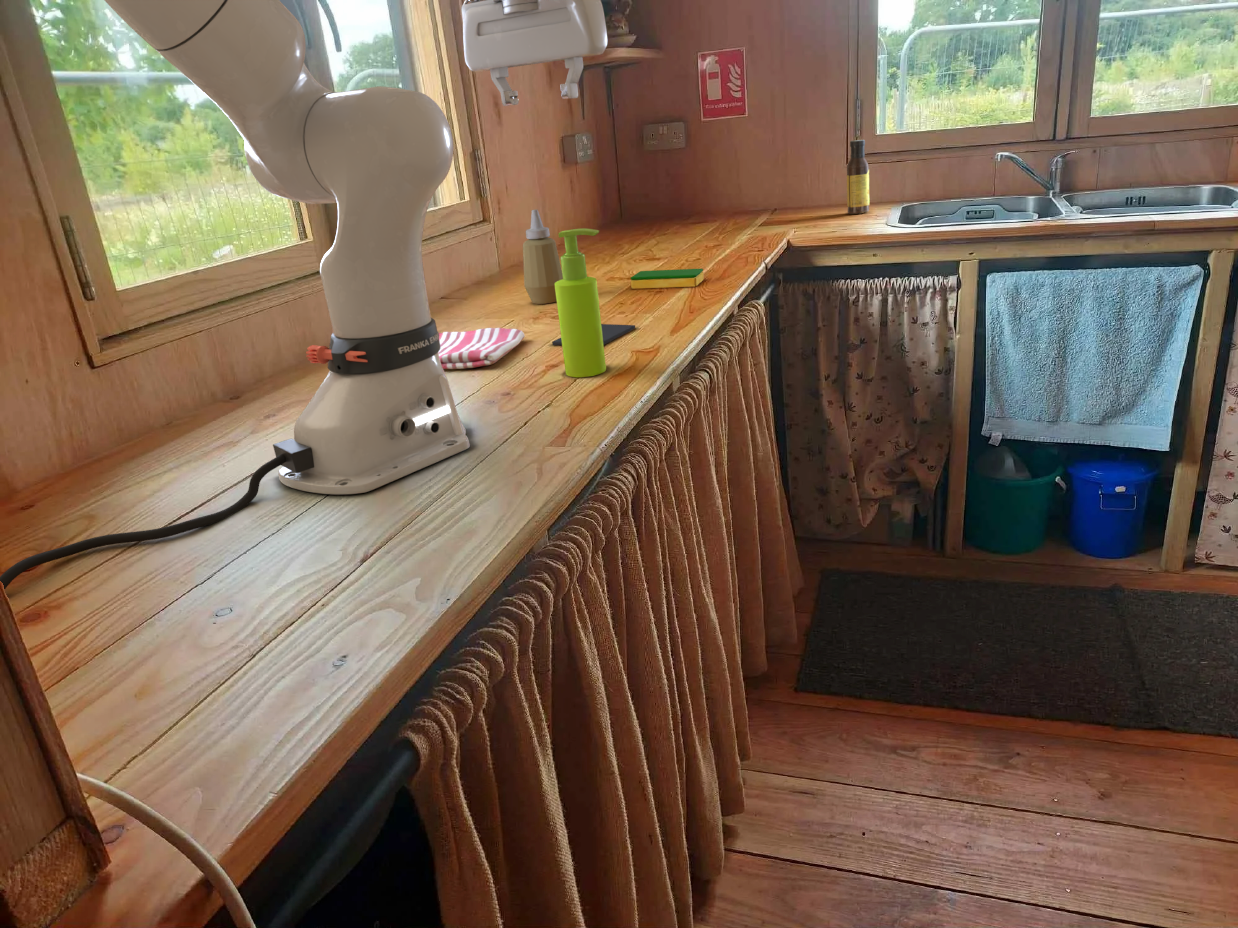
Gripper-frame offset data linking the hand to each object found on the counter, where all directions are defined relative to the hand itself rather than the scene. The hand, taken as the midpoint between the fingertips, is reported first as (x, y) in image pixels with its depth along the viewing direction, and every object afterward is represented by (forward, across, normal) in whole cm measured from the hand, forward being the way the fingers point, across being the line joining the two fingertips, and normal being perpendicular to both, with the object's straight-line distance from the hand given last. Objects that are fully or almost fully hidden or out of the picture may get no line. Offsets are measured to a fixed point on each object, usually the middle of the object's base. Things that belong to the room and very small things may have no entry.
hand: (539, 102), depth 114 cm
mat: (+36, -7, +18) cm, 41 cm away
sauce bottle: (+37, -1, +158) cm, 162 cm away
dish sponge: (+37, -14, +59) cm, 71 cm away
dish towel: (+37, -26, +2) cm, 45 cm away
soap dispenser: (+37, +3, 0) cm, 37 cm away
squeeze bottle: (+37, -33, +42) cm, 65 cm away
